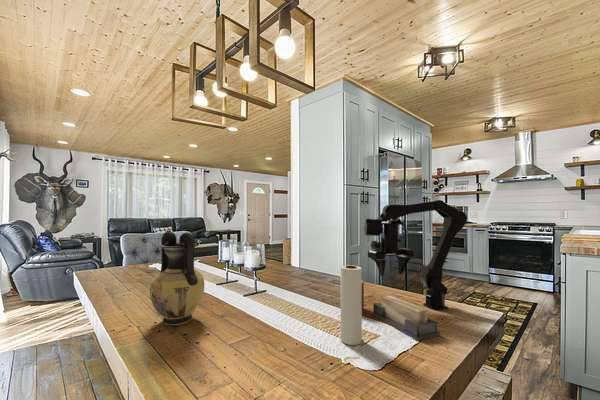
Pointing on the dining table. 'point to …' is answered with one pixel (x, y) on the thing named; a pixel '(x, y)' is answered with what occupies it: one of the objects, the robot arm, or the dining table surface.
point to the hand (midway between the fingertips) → (391, 275)
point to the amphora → (177, 280)
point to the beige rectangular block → (403, 310)
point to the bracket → (408, 325)
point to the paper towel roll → (351, 304)
